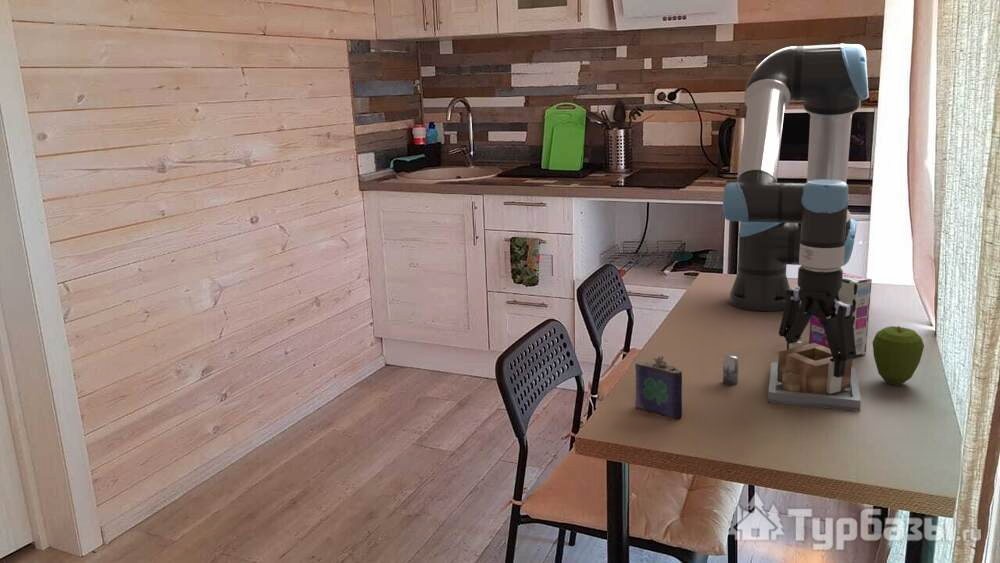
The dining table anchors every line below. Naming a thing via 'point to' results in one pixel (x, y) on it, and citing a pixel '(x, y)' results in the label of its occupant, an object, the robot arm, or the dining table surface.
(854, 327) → the candy bar box
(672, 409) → the flask
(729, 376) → the silver capsule
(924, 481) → the dining table surface
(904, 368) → the apple
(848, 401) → the tray
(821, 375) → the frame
